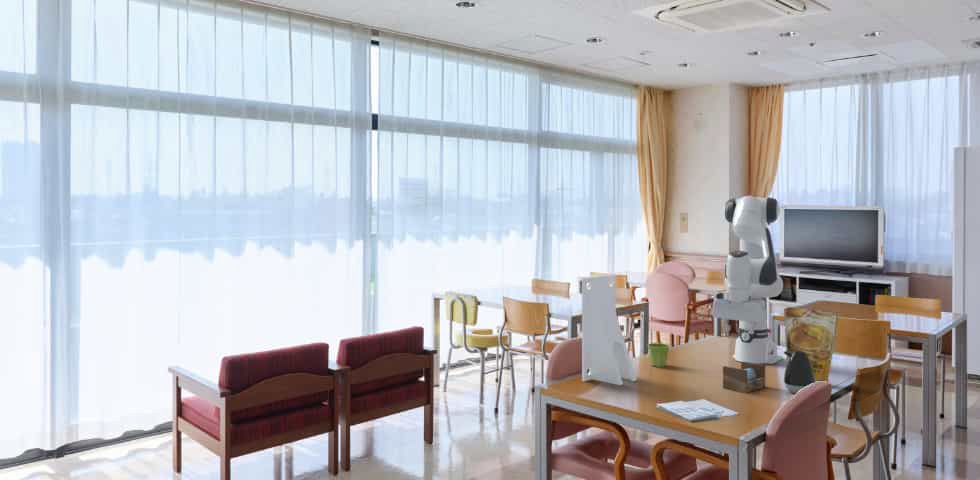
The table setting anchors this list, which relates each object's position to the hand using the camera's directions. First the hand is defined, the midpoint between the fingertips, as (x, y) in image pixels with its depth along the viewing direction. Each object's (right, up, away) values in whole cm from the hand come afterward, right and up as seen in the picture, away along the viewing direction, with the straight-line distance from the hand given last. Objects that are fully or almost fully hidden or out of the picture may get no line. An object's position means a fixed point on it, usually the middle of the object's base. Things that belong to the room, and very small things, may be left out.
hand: (739, 332), depth 266 cm
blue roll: (+1, -19, -2) cm, 19 cm away
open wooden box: (+1, -20, -2) cm, 20 cm away
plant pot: (-21, -19, +36) cm, 46 cm away
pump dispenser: (+18, -20, -11) cm, 29 cm away
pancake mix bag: (+27, -20, +4) cm, 34 cm away
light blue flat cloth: (-25, -22, -33) cm, 47 cm away
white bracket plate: (-45, -20, +11) cm, 51 cm away
